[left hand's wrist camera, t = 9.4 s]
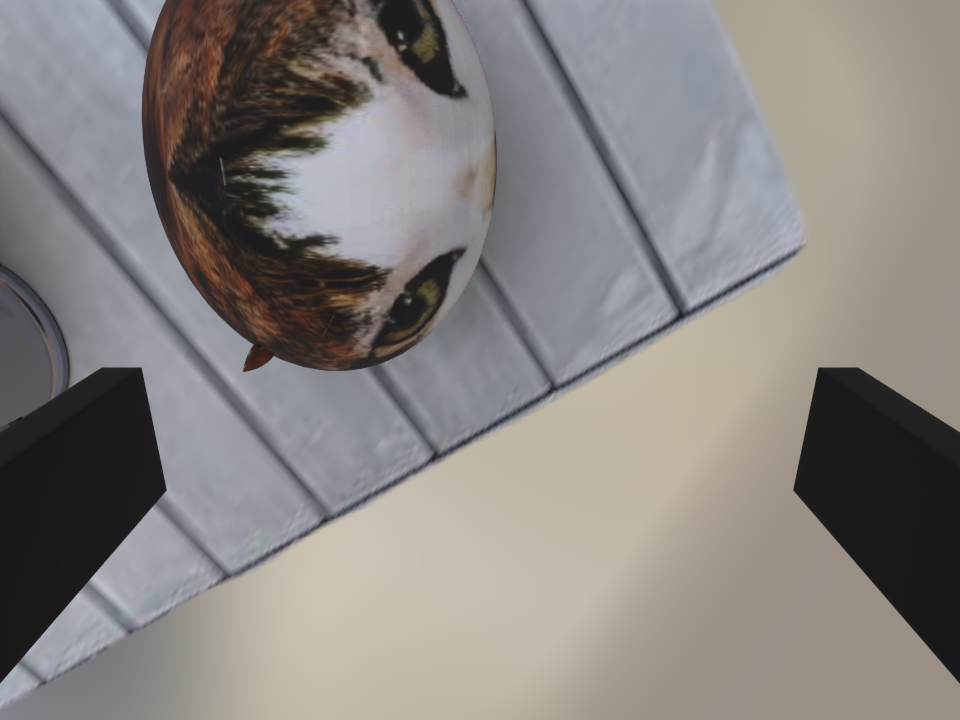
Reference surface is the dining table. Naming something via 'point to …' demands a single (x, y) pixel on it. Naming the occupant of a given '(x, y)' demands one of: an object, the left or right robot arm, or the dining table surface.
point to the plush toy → (321, 168)
